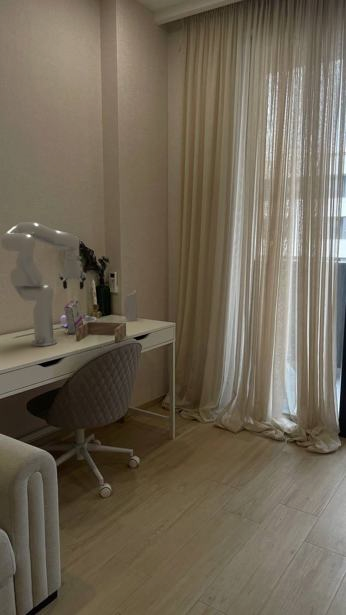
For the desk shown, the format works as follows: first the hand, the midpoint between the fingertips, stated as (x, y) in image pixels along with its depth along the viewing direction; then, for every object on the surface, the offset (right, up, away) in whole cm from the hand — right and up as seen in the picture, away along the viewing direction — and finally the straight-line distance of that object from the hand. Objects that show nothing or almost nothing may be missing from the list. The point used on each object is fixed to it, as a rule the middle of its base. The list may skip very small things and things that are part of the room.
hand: (73, 288), depth 260 cm
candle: (+26, -20, +40) cm, 52 cm away
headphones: (0, -23, +21) cm, 31 cm away
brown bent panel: (+18, -28, -11) cm, 35 cm away
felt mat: (0, -25, +4) cm, 26 cm away
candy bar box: (+1, -24, +5) cm, 24 cm away
